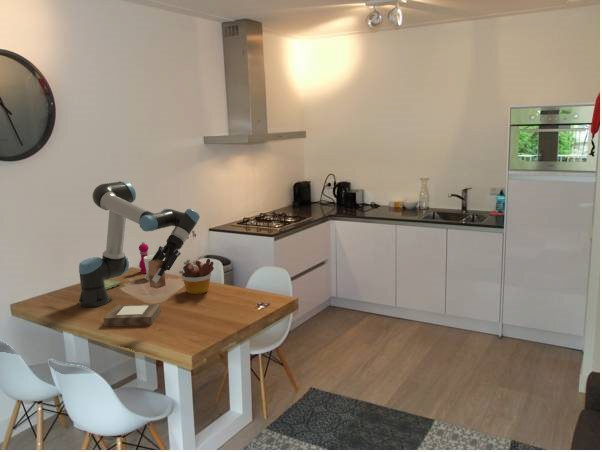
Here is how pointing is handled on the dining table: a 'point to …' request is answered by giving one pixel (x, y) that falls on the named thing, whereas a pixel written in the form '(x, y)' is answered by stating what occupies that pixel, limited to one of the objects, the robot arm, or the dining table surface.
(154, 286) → the cherry block
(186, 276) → the bucket of meat
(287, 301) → the dining table surface
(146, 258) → the foam cup
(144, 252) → the pepper mill
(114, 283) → the washcloth
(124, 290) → the dining table surface
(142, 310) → the tray
